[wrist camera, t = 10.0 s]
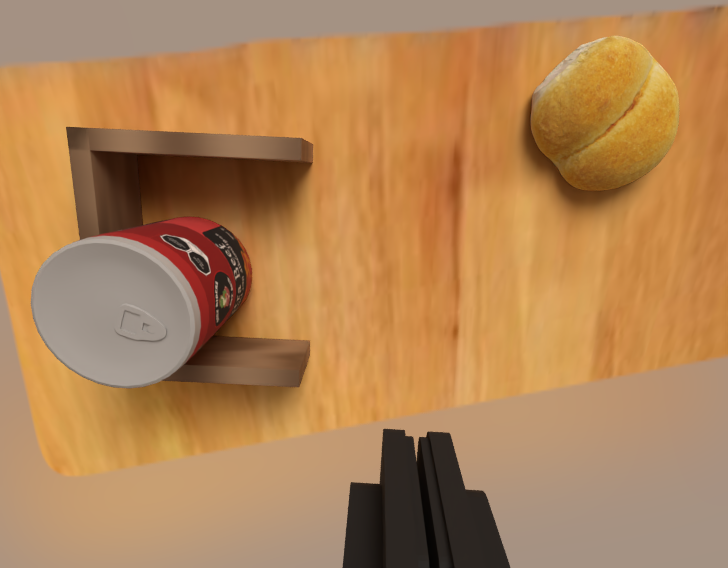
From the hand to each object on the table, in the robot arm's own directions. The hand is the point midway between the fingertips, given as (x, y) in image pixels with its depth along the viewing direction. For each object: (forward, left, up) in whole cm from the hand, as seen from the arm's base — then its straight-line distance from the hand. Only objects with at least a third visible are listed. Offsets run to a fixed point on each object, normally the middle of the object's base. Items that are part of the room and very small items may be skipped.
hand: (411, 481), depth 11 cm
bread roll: (-13, -12, -21) cm, 28 cm away
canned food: (+13, 0, -21) cm, 25 cm away
